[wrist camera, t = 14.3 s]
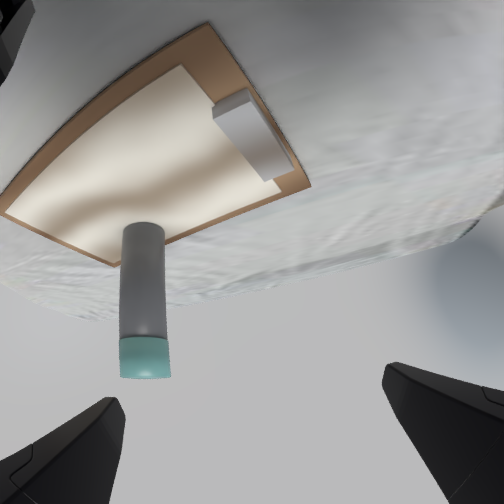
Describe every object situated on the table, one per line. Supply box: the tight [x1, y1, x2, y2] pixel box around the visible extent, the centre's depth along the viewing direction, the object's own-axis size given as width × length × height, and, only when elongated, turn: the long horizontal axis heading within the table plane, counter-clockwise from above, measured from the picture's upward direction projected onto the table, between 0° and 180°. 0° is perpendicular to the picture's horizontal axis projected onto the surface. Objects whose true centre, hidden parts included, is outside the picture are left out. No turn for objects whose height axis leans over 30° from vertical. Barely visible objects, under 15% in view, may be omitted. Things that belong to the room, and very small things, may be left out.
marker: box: [119, 222, 171, 379], centre depth 21 cm, size 4×4×11 cm
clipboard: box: [0, 22, 311, 268], centre depth 19 cm, size 14×20×2 cm
